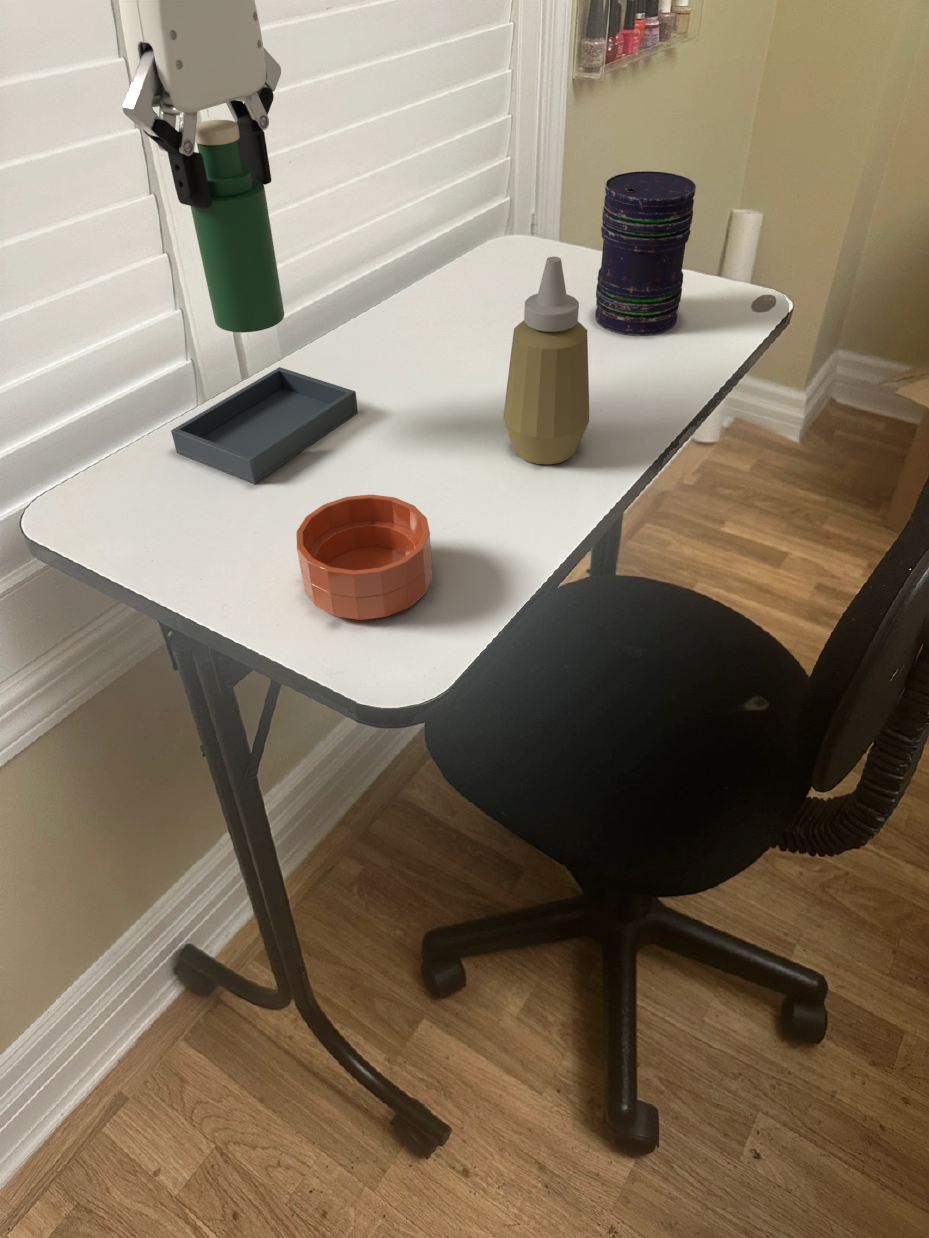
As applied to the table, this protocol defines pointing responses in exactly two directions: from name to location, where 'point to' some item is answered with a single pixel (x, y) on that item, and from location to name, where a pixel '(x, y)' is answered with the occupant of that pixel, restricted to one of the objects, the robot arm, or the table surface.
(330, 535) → the bowl
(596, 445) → the table surface
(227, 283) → the bottle
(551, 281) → the squeeze bottle
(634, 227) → the oil drum
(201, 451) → the tray
